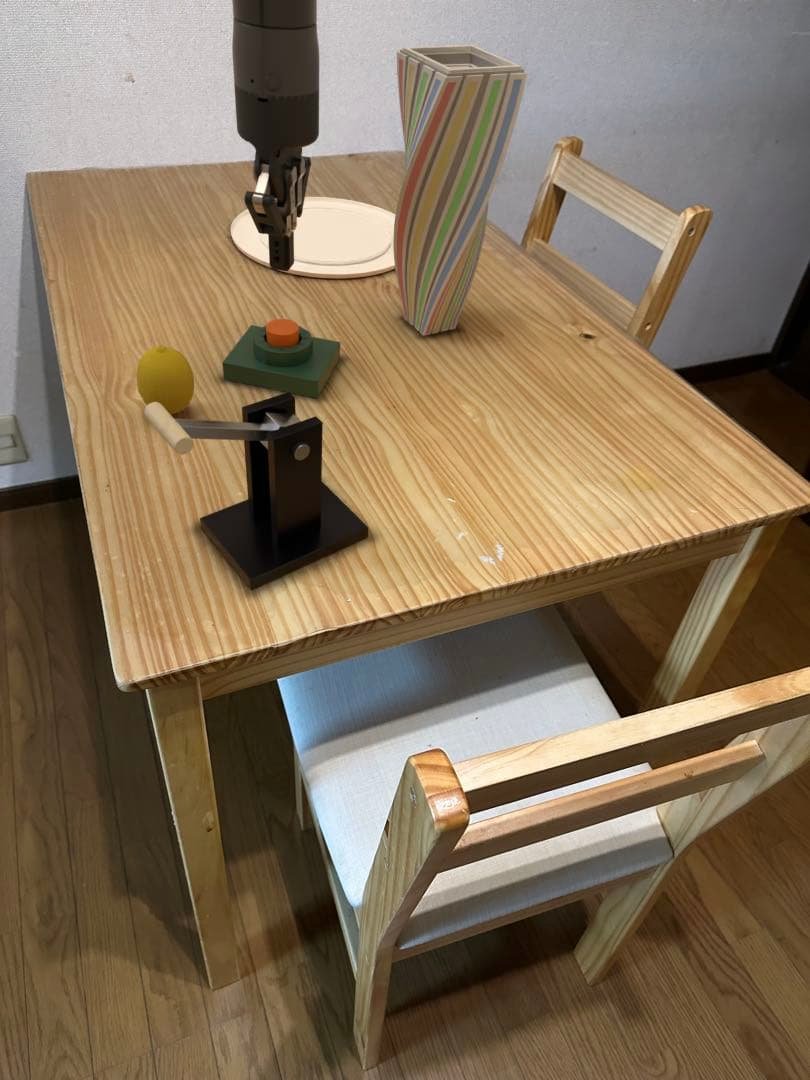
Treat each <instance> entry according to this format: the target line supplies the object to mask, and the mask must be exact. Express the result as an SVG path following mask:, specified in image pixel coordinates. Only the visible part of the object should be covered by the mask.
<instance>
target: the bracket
mask: <svg viewBox="0 0 810 1080" xmlns="http://www.w3.org/2000/svg"><path fill="white" fill-rule="evenodd" d="M266 413H280V414H294V415H295V416H296V417H297V414H296V396H295V395H293V393H290V392H284V393H281V394H278V395H274V396H272V397H269V398H266V399H261V400H259V401H257V402H253V403H250V404H246V405H244V406H241V417H242V418H241V419H242V420H241V421H242V422H244V423H262V422H263V419H264V416H265V414H266ZM300 421H301V422H298V423H295V424H292V425H289V426H286V427H283V428H280V429H278V430H275V431H272V432H269V433H267V435H268V449H267V448H266V447H265V446H264V445H263V444H262V443H261V442H260V441H248V440H243V446H244V448H243V449H244V460H245V461H244V462H245V463H244V464H245V475H246V490H247V499H245V500H243V501H240V502H238V503H235V504H231V505H230V506H227V507H225V508H222V509H219V510H217V511H214V512H212V513H209V514H207V515H204V516H202V517H200V518H199V523H200V529H201V530H202V531H203V532H204V534H205V535H206V536H207V537H208V539H210V541H211V542H212V543H213V545H214V546H215V547H216V548H217V549H218V551H219V552H220V554H222V556H223V558H225V560H226V561H227V563H229V565H230V566H231V567H232V568H233V570H234V571H235V572H236V573H237V574H238V576H239V577H240V578H241V579H242V581H243V582H244V583H245V584H246V586H247V587H248V589H250V590H254V589H256V588H259V587H261V586H263V585H265V584H267V583H269V582H272V581H274V580H277V579H278V578H281V577H283V576H285V575H287V574H289V573H291V572H294V571H296V570H298V569H300V568H303V567H304V566H307V565H309V564H312V563H314V562H316V561H318V560H320V559H322V558H324V557H327V556H329V555H331V554H333V553H336V552H337V551H340V550H342V549H344V548H346V547H349V546H351V545H353V544H355V543H357V542H359V541H360V542H361V541H362V540H364V539H366V538H368V536H369V527H368V525H367V524H366V523H365V522H363V520H362V519H360V517H358V515H357V514H356V513H355V512H354V511H352V510H351V508H349V507H348V506H347V505H346V504H345V502H344V501H343V500H341V498H340V497H339V496H337V494H336V493H334V492H333V490H331V488H330V487H328V486H327V484H325V483H324V482H323V478H322V477H323V432H324V431H323V430H324V427H323V425H324V424H323V421H322V420H321V419H320V418H319V417H318V416H315V415H314V416H312V417H310V418H306V419H304V420H300Z"/></svg>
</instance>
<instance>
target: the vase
mask: <svg viewBox="0 0 810 1080" xmlns="http://www.w3.org/2000/svg"><path fill="white" fill-rule="evenodd" d="M396 74H397V75H396V76H397V89H398V101H399V112H400V121H401V127H402V134H403V135H402V136H403V141H404V153H405V156H404V163H405V164H404V174H403V180H402V183H401V188H400V192H399V197H398V201H397V204H396V210H395V215H396V216H395V223H394V238H393V247H394V263H395V269H394V270H395V276H396V281H397V282H396V283H397V288H398V292H399V296H400V302H401V305H402V306H401V307H402V313H403V314H402V315H403V319H404V320H405V321H406V322H408V323H409V325H411V326H412V327H414V329H416V330H417V331H418V332H419V333H420V334H421V336H429V335H433V334H437V333H440V332H446V331H451V330H456V328H457V325H458V322H459V318H460V316H461V314H462V310H463V308H464V306H465V303H466V301H467V298H468V295H469V293H470V291H471V288H472V285H473V282H474V279H475V275H476V272H477V270H478V266H479V261H480V258H481V254H482V251H483V246H484V240H485V236H486V230H487V222H488V213H489V203H490V202H489V201H490V198H491V196H492V194H493V191H494V189H495V187H496V184H497V181H498V179H499V176H500V174H501V171H502V167H503V164H504V161H505V159H506V155H507V152H508V149H509V146H510V143H511V140H512V136H513V133H514V129H515V125H516V121H517V118H518V114H519V110H520V107H521V103H522V100H523V94H524V90H525V86H526V82H527V77H528V73H527V72H525V69H524V68H523V66H522V65H520V64H517V63H515V62H513V61H510V60H509V59H506V58H504V57H501V56H499V55H498V54H497V55H496V54H494V53H492V52H490V51H487V50H486V49H483V48H481V47H478V46H476V45H473V44H459V45H434V46H433V45H432V46H431V45H430V46H404V47H402V48H401V49H399V51H396Z"/></svg>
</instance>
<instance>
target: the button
mask: <svg viewBox="0 0 810 1080" xmlns="http://www.w3.org/2000/svg"><path fill="white" fill-rule="evenodd" d="M265 326H266V335H267V342H268V344H270V345H272V346H276V347H292V346H295V345H297V344H298V343H299V326H300V325H299V324H298V323H297V322H296V321H294V320H291V319H289V318H275V319H273V320H270V321H268V322H267V323H266V325H265Z"/></svg>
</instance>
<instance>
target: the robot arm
mask: <svg viewBox="0 0 810 1080" xmlns="http://www.w3.org/2000/svg"><path fill="white" fill-rule="evenodd" d="M231 1H232V16H233V17H232V21H233V23H232V25H233V26H232V40H231V41H232V43H231V51H232V67H233V84H234V85H233V86H234V87H233V88H234V100H235V101H234V102H235V119H236V132H237V134H238V135H239V137H240V138H241V139H242V140H243V141H245V142H248V143H249V144H250V145H252V146H253V148H254V149H255V153H254V159H253V163H252V177H253V180H254V181H255V183H256V184H255V185H256V186H255V189H254V191H250V190H246V192H245V193H244V204H245V206H246V209H248V211H249V213H250V215H251V217H252V219H253V221H254V224H255V226H256V228H257V230H258V232H259V233H260V234H268V237H269V263H270V266H271V268H270V269H273V270H276V269H277V270H276V271H279V270H282V271H281V272H283V271H288V270H289V269H290V268H291V267H292V265H293V264H294V231H295V229H296V227H297V217H299V218H300V217H301V215H302V209H303V204H304V198H305V197H306V192H307V186H308V182H309V175H310V170H311V166H312V159H311V157H310V156H305V155H304V156H303V148H305V147H308V146H310V145H312V144H314V143H316V141H317V140H318V138H319V135H320V46H319V36H318V24H317V22H318V0H231ZM292 230H294V231H292Z"/></svg>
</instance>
